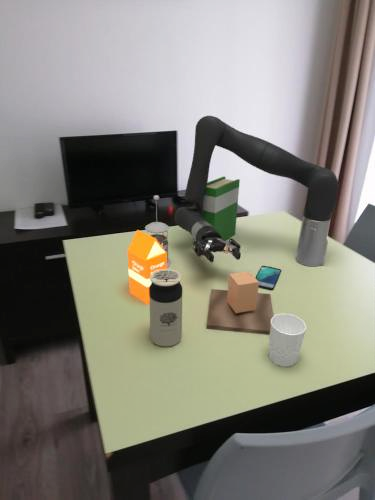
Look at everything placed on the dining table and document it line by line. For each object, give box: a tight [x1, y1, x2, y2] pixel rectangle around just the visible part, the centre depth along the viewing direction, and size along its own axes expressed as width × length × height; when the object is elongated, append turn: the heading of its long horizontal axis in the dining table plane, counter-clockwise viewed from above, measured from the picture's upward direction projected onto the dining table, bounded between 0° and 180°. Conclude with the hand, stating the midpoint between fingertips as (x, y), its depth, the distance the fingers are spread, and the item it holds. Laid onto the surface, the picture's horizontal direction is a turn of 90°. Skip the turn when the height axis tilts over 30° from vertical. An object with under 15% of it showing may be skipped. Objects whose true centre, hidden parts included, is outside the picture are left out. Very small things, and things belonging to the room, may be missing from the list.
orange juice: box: [126, 229, 168, 306], centre depth 106 cm, size 8×9×20 cm
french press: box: [144, 194, 172, 268], centre depth 124 cm, size 10×12×25 cm
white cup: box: [267, 313, 307, 368], centre depth 85 cm, size 8×8×10 cm
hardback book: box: [203, 176, 241, 241], centre depth 143 cm, size 18×7×24 cm, turn 144°
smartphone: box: [254, 265, 282, 292], centre depth 121 cm, size 7×1×15 cm
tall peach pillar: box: [227, 271, 259, 313], centre depth 100 cm, size 6×6×9 cm
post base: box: [206, 288, 274, 335], centre depth 101 cm, size 18×18×10 cm
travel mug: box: [149, 268, 183, 347], centre depth 89 cm, size 8×8×18 cm
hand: (226, 258), depth 107 cm, fingers open, 8 cm apart
